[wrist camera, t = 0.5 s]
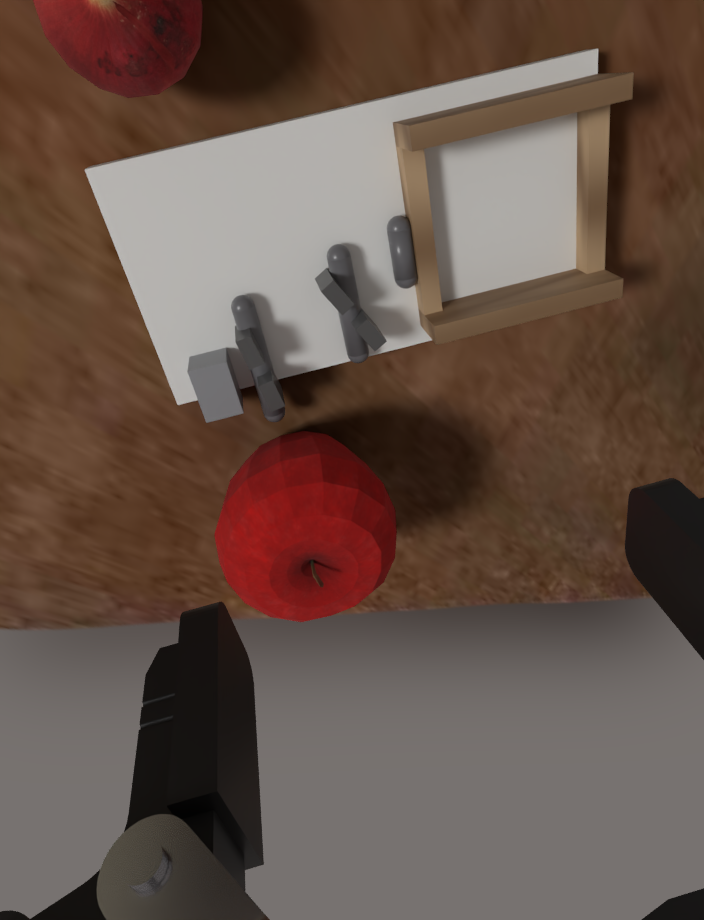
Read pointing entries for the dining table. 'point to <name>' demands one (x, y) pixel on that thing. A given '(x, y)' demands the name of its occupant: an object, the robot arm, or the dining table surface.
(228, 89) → the dining table surface
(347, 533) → the apple
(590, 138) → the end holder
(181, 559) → the dining table surface
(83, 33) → the onion
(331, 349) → the board
